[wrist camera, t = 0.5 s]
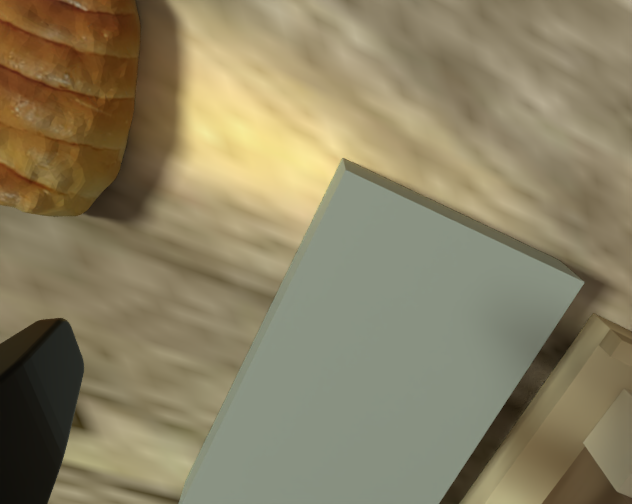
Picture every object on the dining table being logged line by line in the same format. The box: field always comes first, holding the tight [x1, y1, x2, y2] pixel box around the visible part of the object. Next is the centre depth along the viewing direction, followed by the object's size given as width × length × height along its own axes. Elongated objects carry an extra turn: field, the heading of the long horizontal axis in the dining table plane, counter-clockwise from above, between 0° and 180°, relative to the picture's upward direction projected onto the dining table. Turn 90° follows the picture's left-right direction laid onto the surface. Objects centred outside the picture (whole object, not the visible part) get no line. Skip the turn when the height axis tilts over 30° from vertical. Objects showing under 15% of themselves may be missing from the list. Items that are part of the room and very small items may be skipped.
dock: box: [179, 158, 585, 504], centre depth 25 cm, size 17×10×2 cm, turn 155°
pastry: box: [0, 0, 141, 217], centre depth 21 cm, size 9×7×4 cm
